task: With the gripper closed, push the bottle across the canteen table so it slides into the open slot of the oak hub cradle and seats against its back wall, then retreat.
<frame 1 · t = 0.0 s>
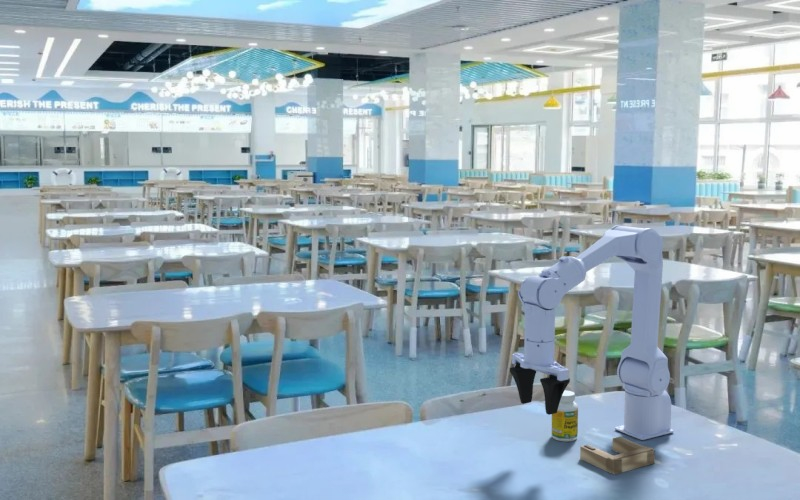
hand: (538, 407, 158), 10 cm above the table, tool pointing down, fingers open, 7 cm apart
supplement bottle: (564, 438, 171), on the table
hub cradle: (616, 461, 158), on the table
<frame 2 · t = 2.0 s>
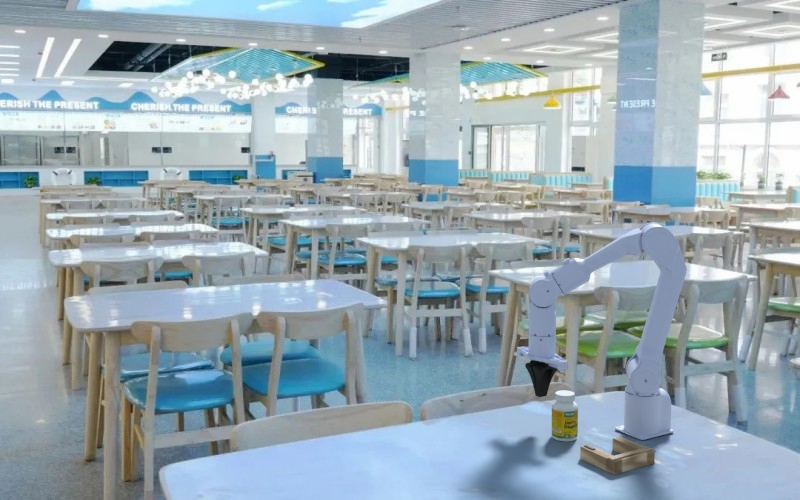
hand: (541, 395, 176), 7 cm above the table, tool pointing down, fingers closed
nothing on the table moved.
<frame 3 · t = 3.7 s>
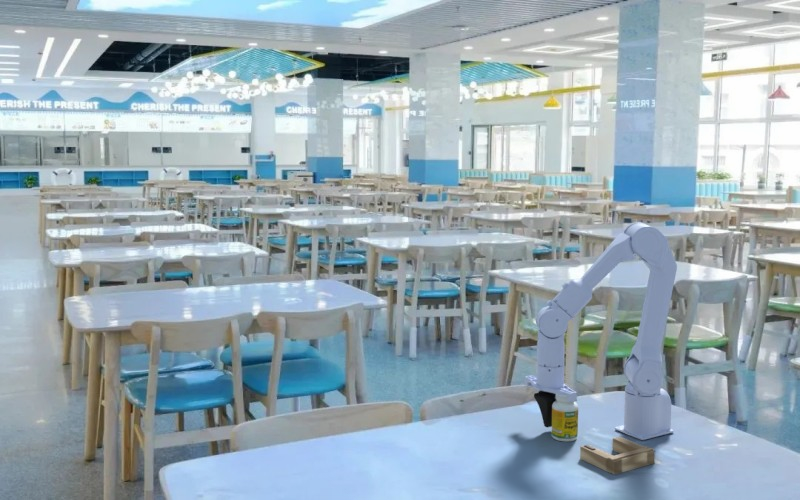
hand: (549, 426, 175), 1 cm above the table, tool pointing down, fingers closed
supplement bottle: (564, 438, 171), on the table, touching gripper
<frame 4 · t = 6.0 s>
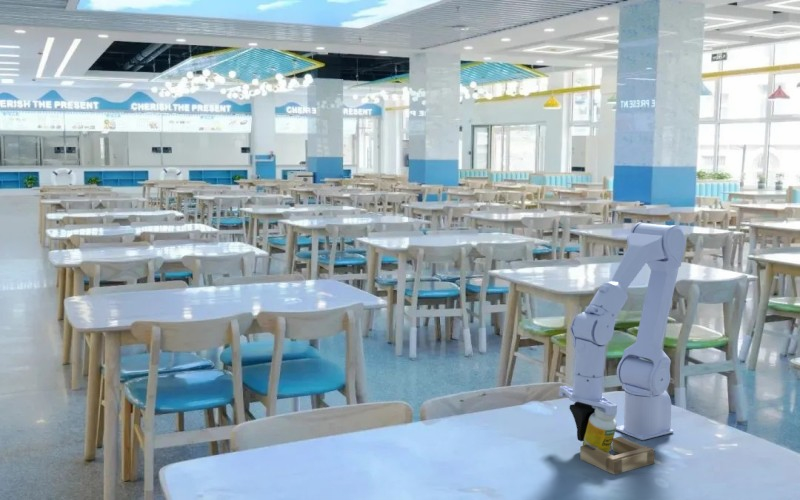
hand: (584, 440, 164), 2 cm above the table, tool pointing down, fingers closed, pressing on supplement bottle
supplement bottle: (595, 451, 162), on the table, touching gripper
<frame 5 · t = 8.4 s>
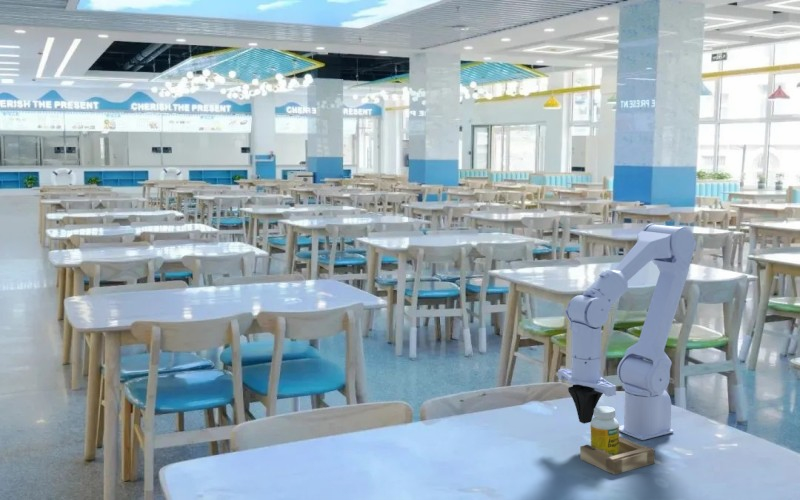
hand: (585, 421, 165), 5 cm above the table, tool pointing down, fingers closed
supplement bottle: (605, 457, 160), on the table
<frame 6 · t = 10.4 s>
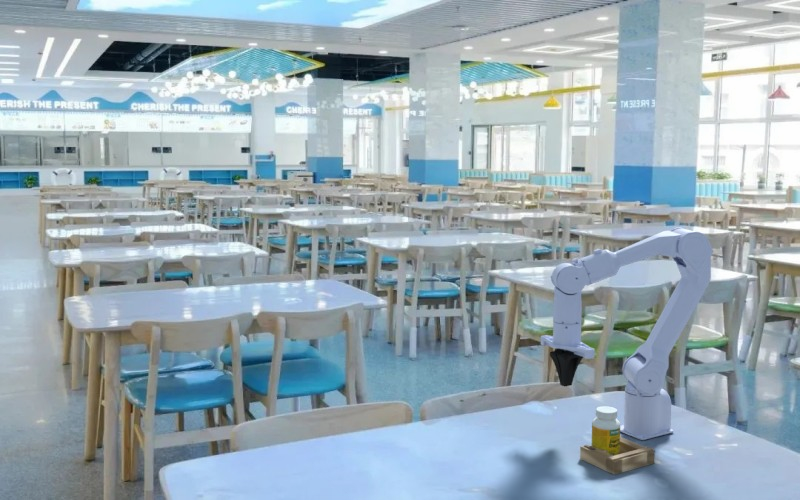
hand: (566, 385, 172), 10 cm above the table, tool pointing down, fingers closed
nothing on the table moved.
at the end: supplement bottle 1.5 cm from the target spot on the hub cradle, point 0.0 cm above the hub cradle's base; supplement bottle tilted 1°; supplement bottle moved 12.2 cm from its start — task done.
